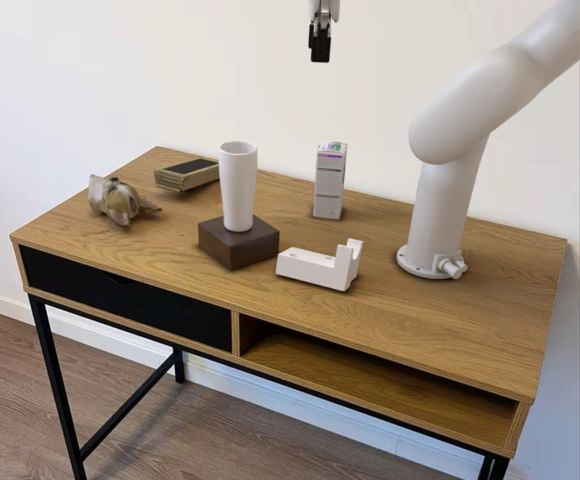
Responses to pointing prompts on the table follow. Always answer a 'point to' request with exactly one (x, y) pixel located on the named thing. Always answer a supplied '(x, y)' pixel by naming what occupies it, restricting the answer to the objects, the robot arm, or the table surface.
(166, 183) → the box
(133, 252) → the table surface
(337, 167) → the syrup box
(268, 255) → the walnut block
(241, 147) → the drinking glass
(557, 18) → the robot arm
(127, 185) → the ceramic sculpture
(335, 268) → the bracket
